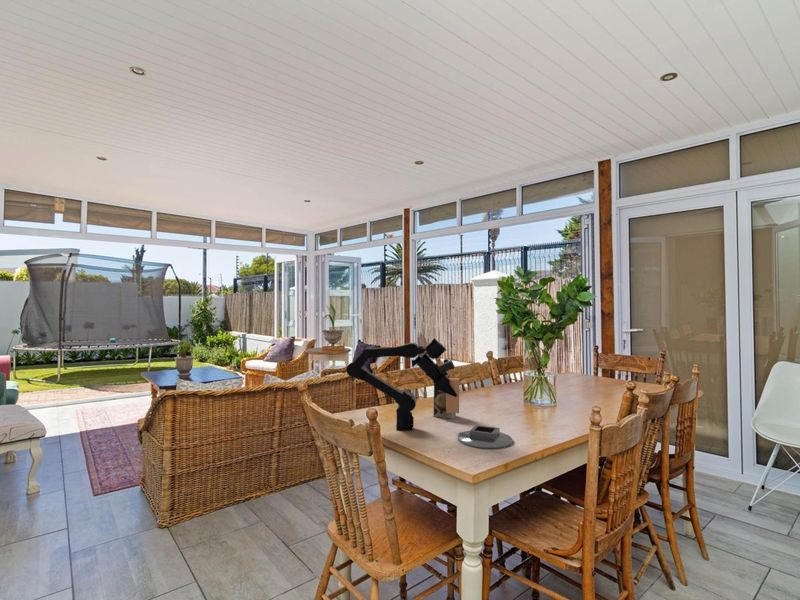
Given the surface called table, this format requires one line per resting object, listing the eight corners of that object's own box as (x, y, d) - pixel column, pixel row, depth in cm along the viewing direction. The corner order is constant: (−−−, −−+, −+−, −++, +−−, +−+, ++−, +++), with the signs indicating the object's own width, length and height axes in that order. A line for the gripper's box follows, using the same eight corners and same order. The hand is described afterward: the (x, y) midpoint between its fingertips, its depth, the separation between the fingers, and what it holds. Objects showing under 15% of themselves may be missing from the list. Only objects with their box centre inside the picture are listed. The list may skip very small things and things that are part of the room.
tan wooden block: (446, 412, 173) (446, 380, 173) (446, 409, 178) (446, 378, 178) (459, 413, 172) (459, 380, 172) (458, 410, 177) (458, 378, 177)
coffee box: (433, 416, 196) (433, 381, 196) (437, 413, 202) (437, 379, 202) (452, 418, 192) (452, 382, 192) (456, 415, 198) (456, 380, 198)
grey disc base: (450, 443, 157) (450, 432, 157) (467, 429, 175) (467, 419, 175) (505, 452, 148) (505, 440, 148) (517, 436, 166) (517, 426, 166)
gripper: (443, 355, 166) (472, 385, 165) (442, 351, 185) (468, 377, 184) (422, 376, 167) (451, 405, 166) (424, 369, 186) (450, 395, 184)
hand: (456, 394), depth 175 cm, fingers closed on tan wooden block, 5 cm apart
